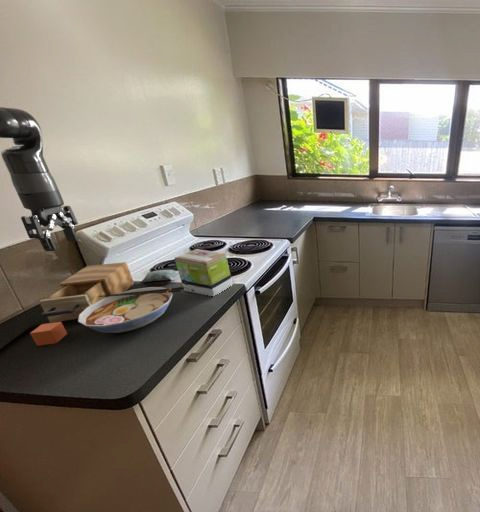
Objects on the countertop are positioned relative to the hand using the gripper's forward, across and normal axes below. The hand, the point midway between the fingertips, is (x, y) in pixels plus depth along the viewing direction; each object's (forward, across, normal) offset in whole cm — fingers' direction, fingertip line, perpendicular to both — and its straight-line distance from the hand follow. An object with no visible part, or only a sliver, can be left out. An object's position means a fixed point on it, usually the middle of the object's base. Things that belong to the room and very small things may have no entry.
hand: (62, 245), depth 84 cm
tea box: (+26, -15, +30) cm, 42 cm away
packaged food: (+26, -27, +9) cm, 39 cm away
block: (+26, +8, -6) cm, 28 cm away
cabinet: (+26, -20, -8) cm, 34 cm away
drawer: (+26, -7, -7) cm, 27 cm away
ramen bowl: (+26, +5, +14) cm, 30 cm away
